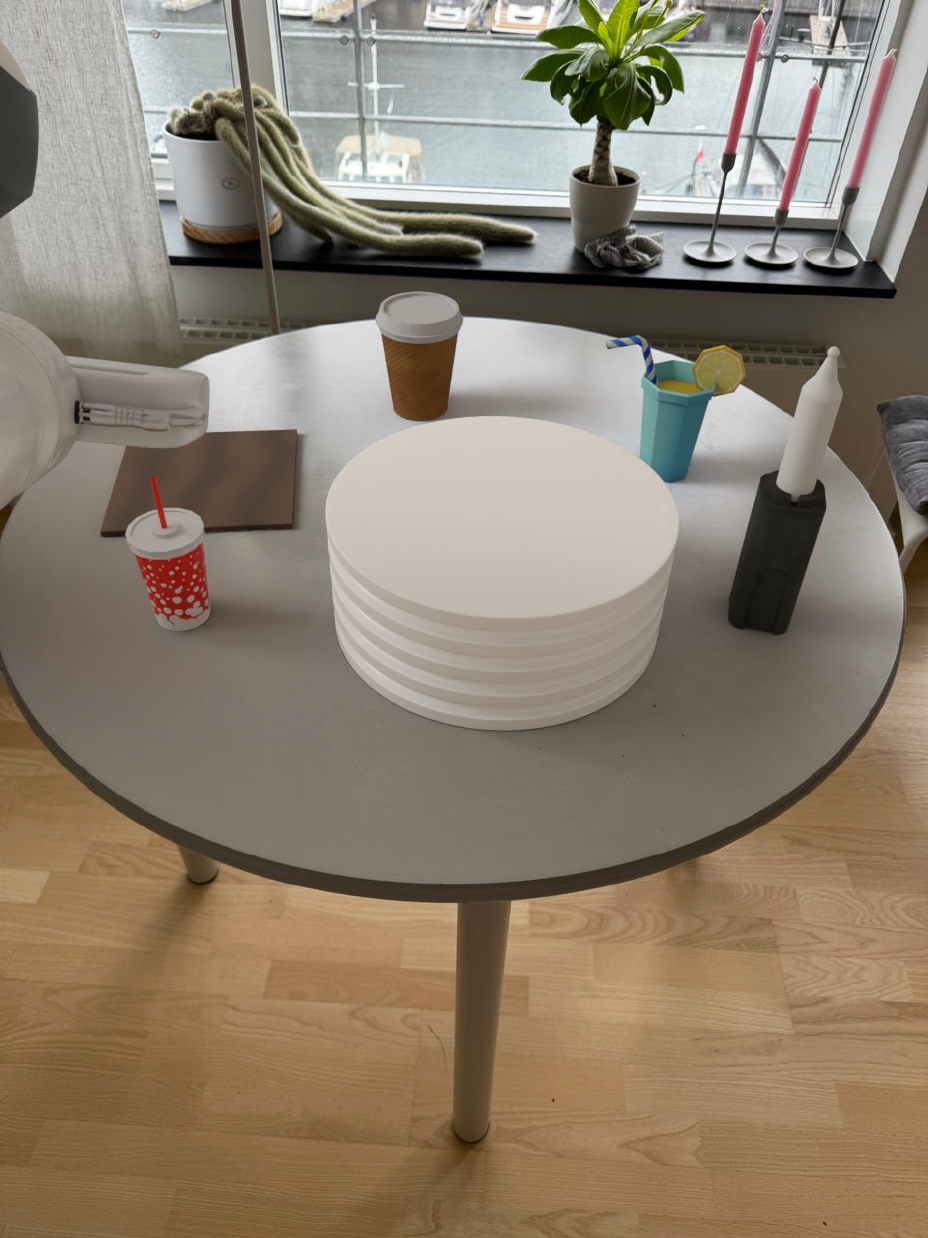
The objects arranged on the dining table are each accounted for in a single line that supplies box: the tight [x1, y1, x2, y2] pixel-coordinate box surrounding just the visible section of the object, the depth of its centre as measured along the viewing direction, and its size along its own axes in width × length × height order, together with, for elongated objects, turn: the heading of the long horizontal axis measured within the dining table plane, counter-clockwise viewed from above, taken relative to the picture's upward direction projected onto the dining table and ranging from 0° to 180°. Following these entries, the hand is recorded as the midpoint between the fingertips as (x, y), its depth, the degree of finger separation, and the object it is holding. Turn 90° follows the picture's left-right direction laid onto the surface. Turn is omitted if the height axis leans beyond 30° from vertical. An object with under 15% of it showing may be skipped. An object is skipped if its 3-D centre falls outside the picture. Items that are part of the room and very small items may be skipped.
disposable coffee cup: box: [375, 291, 464, 421], centre depth 108 cm, size 10×10×12 cm
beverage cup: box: [124, 474, 212, 632], centre depth 79 cm, size 6×6×14 cm
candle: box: [727, 345, 844, 635], centre depth 77 cm, size 5×5×25 cm
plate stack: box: [324, 415, 681, 732], centre depth 81 cm, size 28×28×12 cm
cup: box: [605, 334, 747, 483], centre depth 98 cm, size 14×8×15 cm, turn 92°
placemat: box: [99, 428, 298, 537], centre depth 99 cm, size 18×18×1 cm
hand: (51, 374), depth 60 cm, fingers open, 8 cm apart
